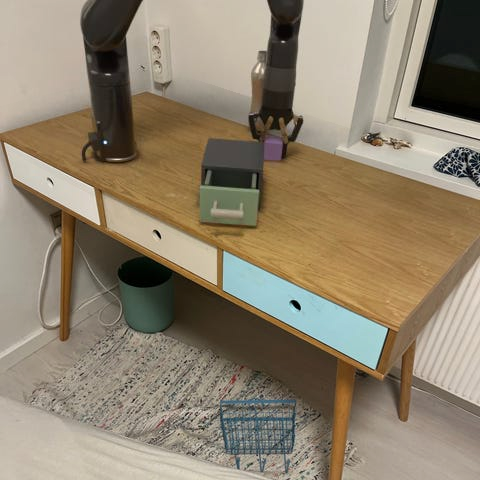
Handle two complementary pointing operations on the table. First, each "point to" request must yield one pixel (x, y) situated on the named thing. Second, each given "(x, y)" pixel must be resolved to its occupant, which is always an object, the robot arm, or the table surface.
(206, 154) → the cabinet
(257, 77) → the plastic bottle
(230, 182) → the drawer
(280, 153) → the block
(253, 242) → the table surface
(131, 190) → the table surface
